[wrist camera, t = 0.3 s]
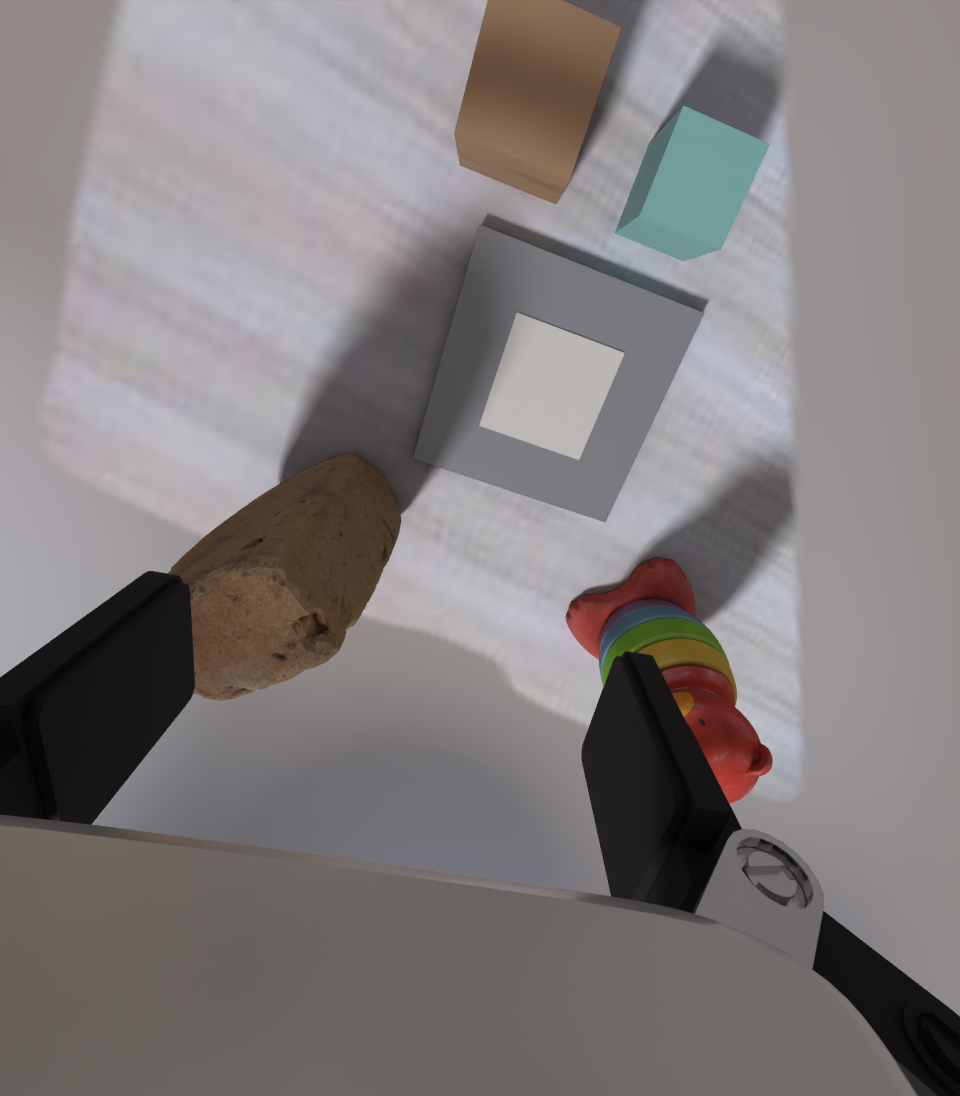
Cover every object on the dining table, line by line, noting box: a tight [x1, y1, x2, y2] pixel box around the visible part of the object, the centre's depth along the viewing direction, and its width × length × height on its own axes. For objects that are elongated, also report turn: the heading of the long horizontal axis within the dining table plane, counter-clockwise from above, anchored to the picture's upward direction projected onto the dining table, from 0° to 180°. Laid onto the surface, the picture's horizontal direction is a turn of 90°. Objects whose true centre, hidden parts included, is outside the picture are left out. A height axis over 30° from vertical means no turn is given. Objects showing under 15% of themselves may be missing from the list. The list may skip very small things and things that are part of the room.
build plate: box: [413, 225, 704, 522], centre depth 36 cm, size 16×16×1 cm
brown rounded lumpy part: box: [168, 453, 401, 701], centre depth 32 cm, size 11×8×20 cm
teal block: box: [615, 105, 769, 261], centre depth 30 cm, size 5×5×6 cm
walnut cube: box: [454, 0, 622, 204], centre depth 28 cm, size 6×6×6 cm
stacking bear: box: [566, 558, 772, 804], centre depth 37 cm, size 11×10×18 cm
